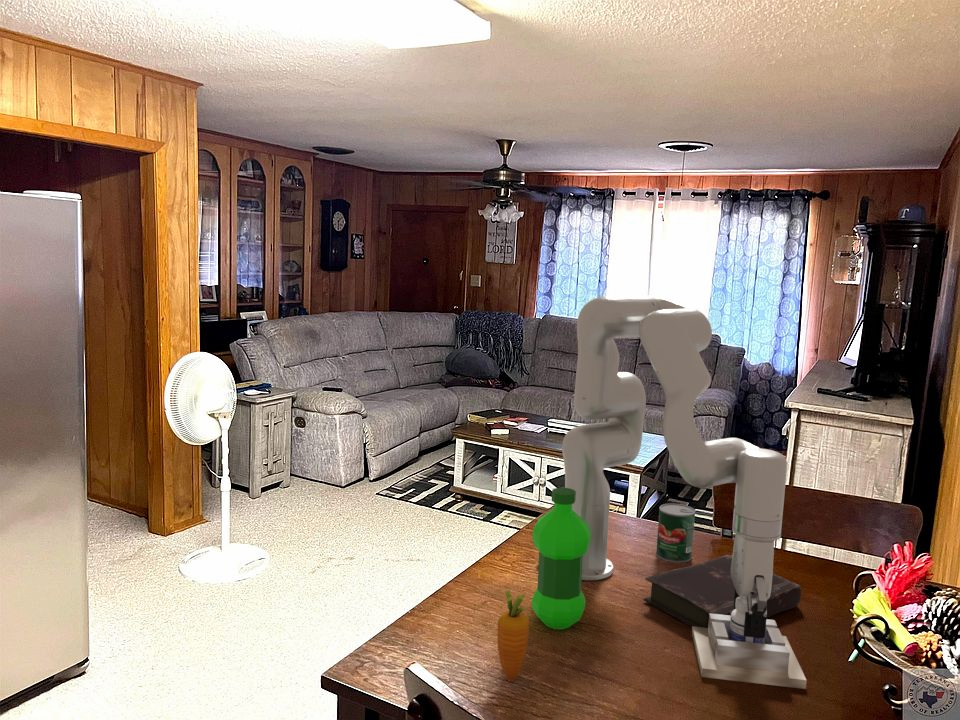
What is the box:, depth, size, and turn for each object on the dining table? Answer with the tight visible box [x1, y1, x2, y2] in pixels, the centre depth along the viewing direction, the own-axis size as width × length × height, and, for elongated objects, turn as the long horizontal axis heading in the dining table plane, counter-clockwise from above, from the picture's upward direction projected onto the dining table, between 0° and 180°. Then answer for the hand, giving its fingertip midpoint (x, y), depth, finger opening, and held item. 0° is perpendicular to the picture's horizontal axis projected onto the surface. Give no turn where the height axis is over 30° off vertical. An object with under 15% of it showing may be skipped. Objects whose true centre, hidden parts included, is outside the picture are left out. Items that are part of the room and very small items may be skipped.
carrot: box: [497, 589, 530, 683], centre depth 117 cm, size 5×5×15 cm
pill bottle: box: [729, 596, 763, 644], centre depth 126 cm, size 5×5×9 cm
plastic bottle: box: [531, 487, 591, 630], centre depth 136 cm, size 10×10×25 cm
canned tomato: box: [655, 503, 696, 564], centre depth 169 cm, size 8×8×11 cm
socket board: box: [691, 613, 807, 690], centre depth 126 cm, size 16×14×5 cm
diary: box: [643, 554, 802, 628], centre depth 147 cm, size 19×25×5 cm
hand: (748, 622), depth 126 cm, fingers open, 9 cm apart
